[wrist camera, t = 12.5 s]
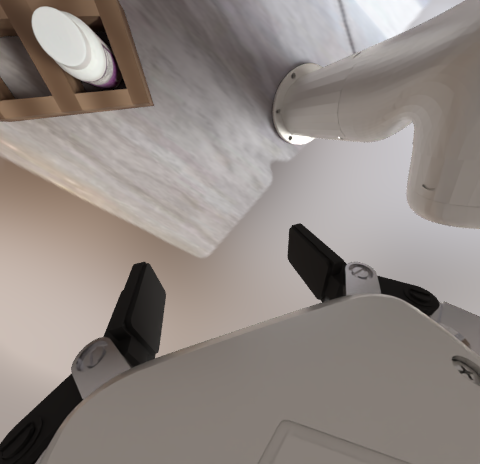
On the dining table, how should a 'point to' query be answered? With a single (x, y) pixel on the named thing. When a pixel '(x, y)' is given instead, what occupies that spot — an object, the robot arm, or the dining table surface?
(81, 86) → the socket block
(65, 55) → the pill bottle
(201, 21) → the dining table surface
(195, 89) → the dining table surface
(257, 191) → the dining table surface
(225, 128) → the dining table surface
